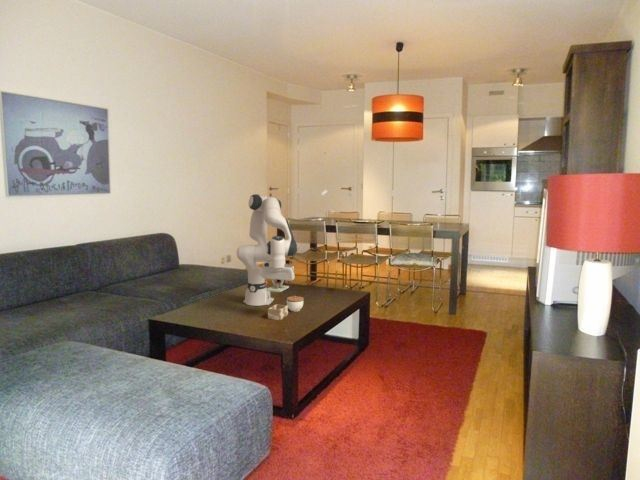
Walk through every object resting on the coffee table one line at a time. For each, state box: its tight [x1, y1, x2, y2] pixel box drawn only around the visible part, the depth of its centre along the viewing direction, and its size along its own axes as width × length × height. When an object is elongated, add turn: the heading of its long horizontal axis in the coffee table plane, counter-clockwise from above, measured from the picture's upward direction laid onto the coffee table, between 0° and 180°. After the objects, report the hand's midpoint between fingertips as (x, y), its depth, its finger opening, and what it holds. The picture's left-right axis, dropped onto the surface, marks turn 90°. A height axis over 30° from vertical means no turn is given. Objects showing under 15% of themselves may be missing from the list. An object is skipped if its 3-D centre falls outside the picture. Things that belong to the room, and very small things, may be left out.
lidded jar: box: [286, 295, 305, 312], centre depth 312 cm, size 11×11×9 cm
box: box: [267, 303, 289, 321], centre depth 296 cm, size 12×8×6 cm, turn 162°
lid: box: [266, 281, 290, 293], centre depth 294 cm, size 13×9×4 cm
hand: (277, 286), depth 294 cm, fingers closed on lid, 2 cm apart
